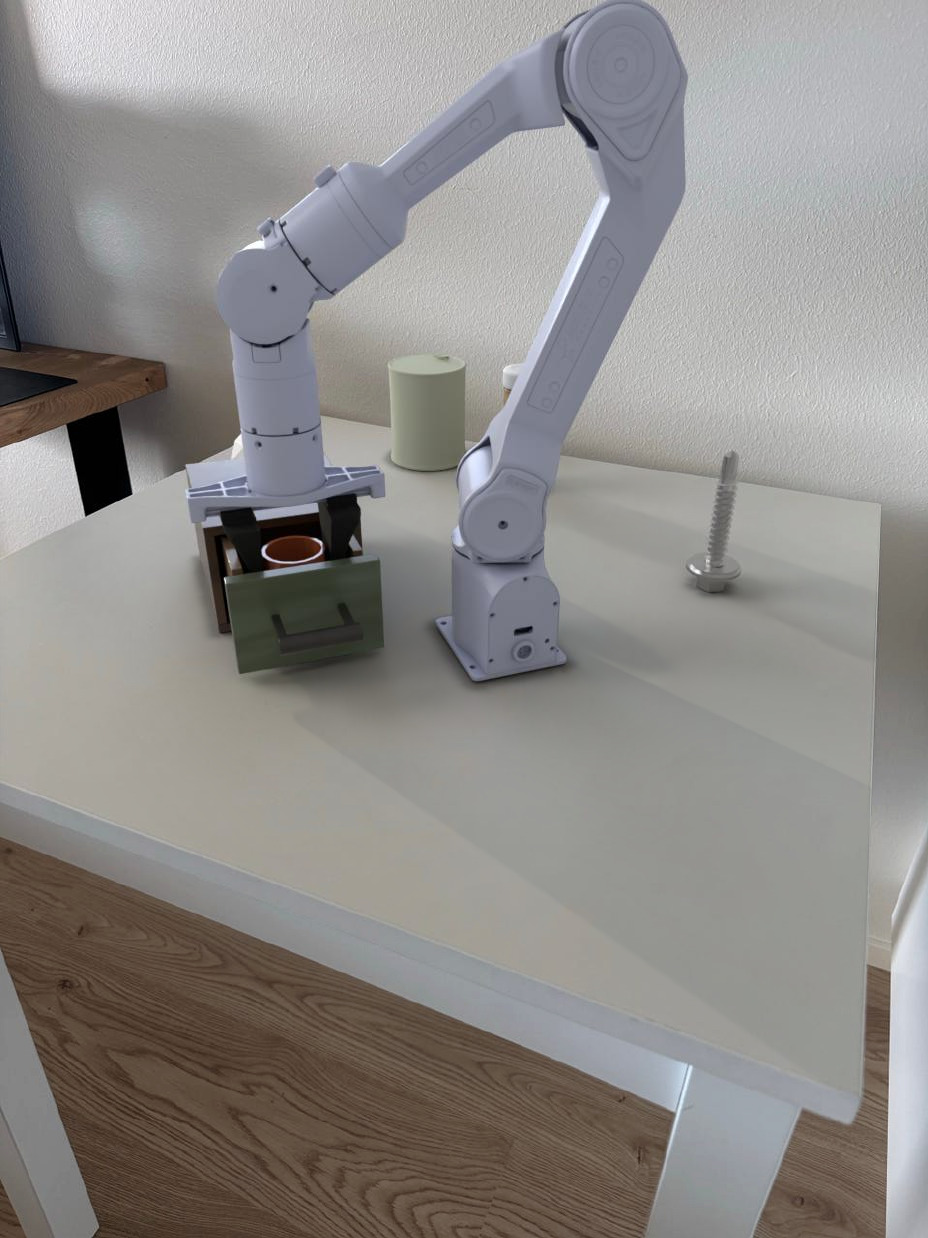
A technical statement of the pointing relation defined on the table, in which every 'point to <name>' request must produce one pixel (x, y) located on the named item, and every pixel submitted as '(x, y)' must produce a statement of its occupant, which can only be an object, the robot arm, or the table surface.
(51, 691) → the table surface
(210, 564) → the cabinet
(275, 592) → the drawer
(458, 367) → the can
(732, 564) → the screw
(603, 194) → the robot arm
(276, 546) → the cup
